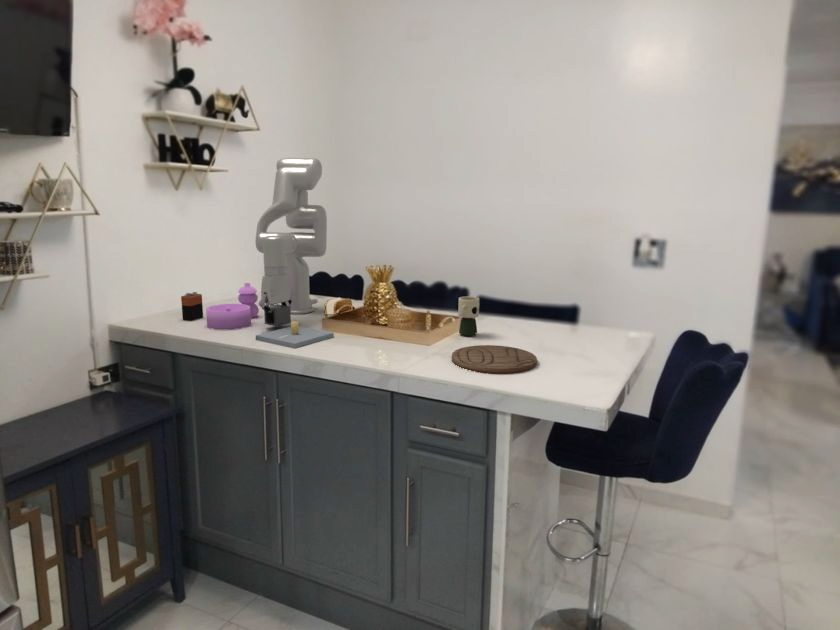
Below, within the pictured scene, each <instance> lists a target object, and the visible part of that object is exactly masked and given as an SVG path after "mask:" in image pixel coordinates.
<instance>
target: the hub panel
mask: <svg viewBox="0 0 840 630" xmlns="http://www.w3.org/2000/svg"><path fill="white" fill-rule="evenodd" d="M334 336H335V333H334V332H331V331H326V330H321V329H316V328H313V327H306V326H302V325H299V321H291V323H290V326H288V327H283V328H280V329H276V330H271V331H267V332H264V333H263V332H262V333H260V334H256V335H255V340H256V341H260V342H266V343H271V344H273V343H274V345H278V344H279V345H278V346H282V345H284V347H287V346H288V347H287V348H291V347H292V348H293V349H298V348H300V346H301V347H304V346H308V345H310V344H314V342H315V343H318V342H321V340H322V341H325V340H328V338H329V339H331V338H334ZM324 339H325V340H324ZM307 344H308V345H307ZM303 345H304V346H303ZM297 347H298V348H297ZM292 348H291V349H292Z"/></svg>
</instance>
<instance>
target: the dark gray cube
mask: <svg viewBox="0 0 840 630" xmlns="http://www.w3.org/2000/svg"><path fill="white" fill-rule="evenodd" d="M269 307H270V305H269ZM263 311H264V310H263ZM272 312H273V315H274V323H273V324H271V323H267V322H266V312H265V311H264V312H263V313H264V314H263V315H264V324H265V325H268V326H272V327H277V328H278V327H282V326H285V325H289V324H291V322H292V319H291V318H292V316H291V315H292V314H291V312H290V307H289V306H284V305H281V304H280V303H279V304H274V306H273V310H272Z"/></svg>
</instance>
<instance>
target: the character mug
mask: <svg viewBox="0 0 840 630" xmlns="http://www.w3.org/2000/svg"><path fill="white" fill-rule="evenodd" d="M457 311H458V312H457V314H458V317H461V319H460V322H459V323H460V324H459V329H458V334H460V335H464V336H465V337H467V336H468V337H469V336H476V335H477V334H478V328H477V320H476V318H478V317H479V315H480V298H479V297H476V296H468V295H467V296H460V297H458V310H457Z"/></svg>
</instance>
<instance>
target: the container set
mask: <svg viewBox="0 0 840 630" xmlns="http://www.w3.org/2000/svg"><path fill="white" fill-rule="evenodd" d="M243 285H244V286H242V287H240V288H239V289H238V294H239V295H238V296H237V300H238V302H239V303H221V304H215V305H209V306H207V307H206V308H205V311H206V314H205V315H206V327H207V328H208V327H209V328H208V329H211V328H213V330H219V329H228V330H236V329H235V328H239V329H243V328H242V327H244V328H247V327H249V326H251V325H250V324H252V321H251V320H252V319H254V318H253V317H255V318H256V317H257V316H258V314H259V311H260V310H259V307H258V305H257V304H256V303H257V301H258V298H259V297H258V295H257V292H258V290H257V288H256V287H253V286H251V283H250V282H245V283H244V284H243ZM246 326H247V327H246Z"/></svg>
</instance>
